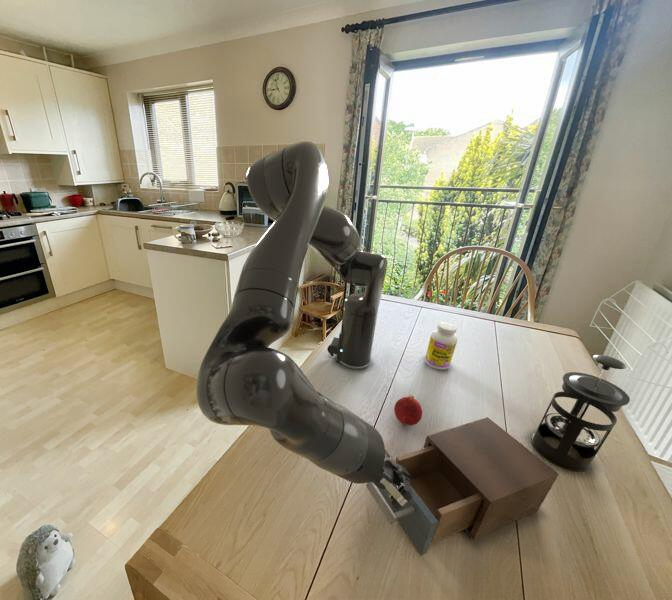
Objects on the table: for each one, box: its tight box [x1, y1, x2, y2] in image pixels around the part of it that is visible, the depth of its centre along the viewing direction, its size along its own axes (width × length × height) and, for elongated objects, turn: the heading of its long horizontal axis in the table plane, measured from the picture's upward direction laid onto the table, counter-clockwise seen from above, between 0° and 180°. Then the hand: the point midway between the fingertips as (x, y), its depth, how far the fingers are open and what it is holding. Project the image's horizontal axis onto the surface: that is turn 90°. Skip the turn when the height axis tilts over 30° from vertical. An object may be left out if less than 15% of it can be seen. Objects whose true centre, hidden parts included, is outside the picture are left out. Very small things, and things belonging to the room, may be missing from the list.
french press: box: [530, 354, 631, 473], centre depth 60 cm, size 12×9×23 cm
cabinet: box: [423, 416, 560, 541], centre depth 55 cm, size 15×13×10 cm
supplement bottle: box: [424, 321, 458, 370], centre depth 89 cm, size 7×7×13 cm
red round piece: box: [393, 394, 424, 426], centre depth 69 cm, size 6×6×8 cm
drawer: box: [365, 445, 484, 556], centre depth 51 cm, size 18×11×8 cm, turn 108°
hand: (403, 477), depth 47 cm, fingers closed
